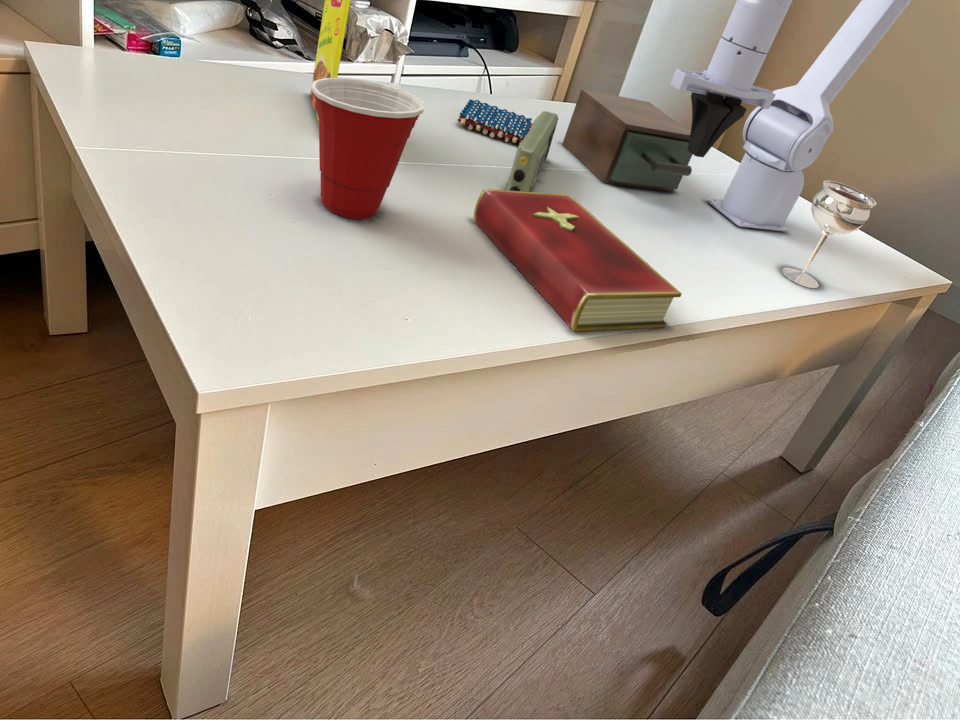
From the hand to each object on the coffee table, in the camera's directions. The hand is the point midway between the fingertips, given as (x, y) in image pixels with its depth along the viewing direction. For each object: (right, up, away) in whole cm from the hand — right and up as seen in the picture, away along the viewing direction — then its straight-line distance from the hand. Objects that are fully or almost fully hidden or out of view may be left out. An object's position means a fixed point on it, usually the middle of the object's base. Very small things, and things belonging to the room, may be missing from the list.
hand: (695, 153), depth 97 cm
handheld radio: (-22, -4, +1) cm, 22 cm away
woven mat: (-25, +8, +17) cm, 32 cm away
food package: (-48, +5, 0) cm, 48 cm away
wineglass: (+14, -16, +1) cm, 21 cm away
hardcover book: (-19, -17, -17) cm, 31 cm away
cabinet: (-7, +3, +18) cm, 20 cm away
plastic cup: (-41, -11, -18) cm, 46 cm away
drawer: (-5, +1, +15) cm, 16 cm away
